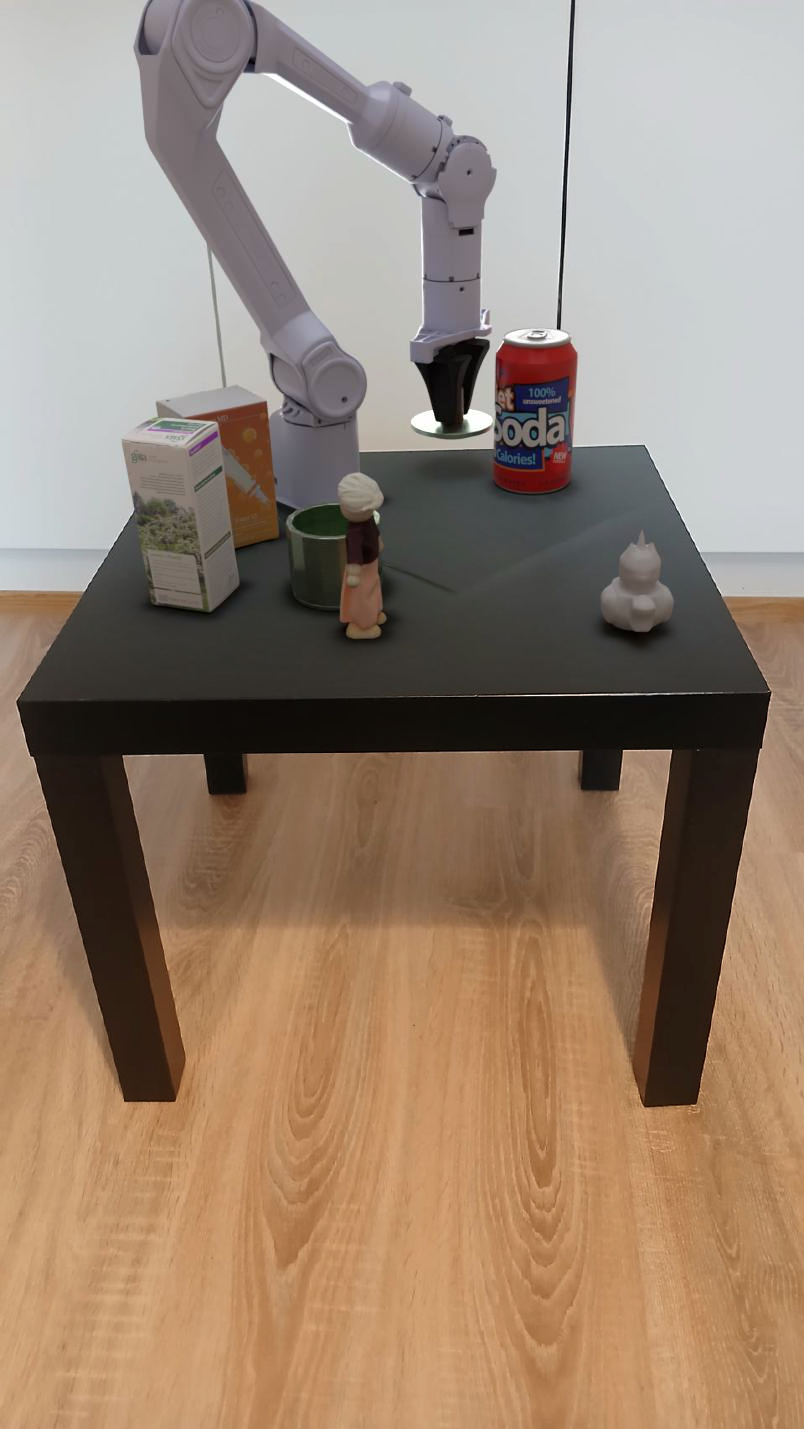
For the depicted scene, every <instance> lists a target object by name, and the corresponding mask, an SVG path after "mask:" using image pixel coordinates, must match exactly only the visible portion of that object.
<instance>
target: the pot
mask: <svg viewBox="0 0 804 1429" xmlns="http://www.w3.org/2000/svg"><path fill="white" fill-rule="evenodd" d="M372 516H373V518H374V519H375V522H376V524H377V527H378V529H379V531H380V537H381V538H382V531H381V530H382V529H381V528H382V527H381V515H380V514H379V512H378V511H377V510H374V512H373V514H372ZM349 521H350V520H348V519H346V518H345V516H344V515H343V514H342V511H341V508H340V502H325V503H319V504H314V505H310V506H307V507H304V508H301V509H295V511H294V512H292V513H291V514H289V515H288V516H287V519H286V522H285V532H286V534H285V535H286V543H287V544H286V545H287V554H288V563H289V574H290V585H291V592H292V596H293V597H294V599H295V600H296V602H298V603H299V604H300V605H302V606H304V607H307V608H309V609H314V610H318V611H326V612H328V611H329V612H340V603H341V592H342V586H343V580H344V572H345V567H346V563H347V550H346V541H345V535H346V531H347V528H348V524H349ZM382 552H383V550H382V551H381V552H379V555H378V575H379V579H380V588H381V594H382V592H383V588H384V587H383V583H384V578H383V574H384V573H383V555H382Z"/></svg>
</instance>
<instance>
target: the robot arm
mask: <svg viewBox="0 0 804 1429" xmlns="http://www.w3.org/2000/svg"><path fill="white" fill-rule="evenodd" d="M132 48H133V52H134V56H135V58H136V63H137V66H138V70H139V81H140V92H141V104H142V106H141V107H142V118H143V130H144V138H145V140H146V143H147V146H148V148H149V151H150V152H151V153H152V155H153V157H154V159H155V160H156V162H157V163H158V165H159V167H160V169H161V170H162V172H163V173H164V175H165V177H166V178H167V180H168V182H169V183H170V185H171V187H172V188H173V190H174V192H175V193H176V195H177V196H178V198H179V200H180V202H181V203H182V205H183V207H184V209H185V210H186V212H187V213H188V215H189V216H190V218H191V219H192V222H193V223H194V225H195V226H196V228H197V229H198V232H199V233H200V235H201V236H202V238H203V240H204V241H205V243H206V244H207V246H208V247H209V249H210V251H211V253H212V254H213V256H214V258H215V260H216V261H217V263H218V265H219V266H220V268H221V269H222V271H223V272H224V274H225V276H226V277H227V279H228V281H229V283H230V284H231V286H232V287H233V289H234V291H235V293H236V294H237V296H238V297H239V299H240V301H241V302H242V304H243V306H244V308H245V309H246V311H247V313H248V314H249V316H250V317H251V319H252V320H253V322H254V324H255V325H256V327H257V328H258V331H259V343H260V345H261V347H262V348H263V350H264V352H265V354H266V357H267V360H268V367H269V368H268V369H269V375H270V379H271V381H272V383H273V385H274V387H275V389H276V390H277V391H278V392H279V393H281V394H282V396H283V399H282V400H283V402H282V405H280V406H279V407H278V408H277V409H275V410H274V411H273V412H272V413H271V414H270V416H269V417H268V418H269V429H270V439H271V450H272V462H273V472H274V483H275V493H276V502H279V503H281V504H284V505H285V506H288V507H291V508H293V509H295V510H298V509H301V508H304V507H307V506H310V505H314V504H319V503H325V502H340V498H339V497H338V484H339V483H340V482H341V480H342V479H343V478H344V477H346V476H347V475H348V474H351V473H358V472H359V473H361V458H360V439H359V421H358V420H359V418H358V410H359V409H360V408H361V406H362V404H363V403H364V400H365V398H366V395H367V390H368V377H367V373H366V370H365V368H364V367H363V364H362V363H361V362H360V361H359V359H358V358H357V357H356V356H354V355H352V354H351V353H349V352H348V351H346V350H345V349H344V348H342V346H341V345H340V344H339V342H338V340H337V338H336V336H335V334H333V332H332V331H331V330H330V329H329V327H327V325H326V324H325V323H324V322H323V321H322V320H321V318H320V317H318V315H317V314H316V313H315V311H314V310H313V309H312V308H311V306H310V304H309V302H308V300H307V299H306V297H305V295H304V293H303V291H302V290H301V288H300V286H299V284H298V283H297V281H296V279H295V277H294V276H293V274H292V272H291V270H290V269H289V267H288V264H287V263H286V261H285V259H284V257H283V256H282V254H281V252H280V250H279V249H278V247H277V245H276V243H275V242H274V240H273V238H272V236H271V234H270V233H269V231H268V229H267V227H266V226H265V223H264V222H263V220H262V219H261V216H260V215H259V213H258V211H257V209H256V208H255V206H254V204H253V202H252V200H251V198H250V197H249V195H248V194H247V192H246V190H245V188H244V186H243V185H242V183H241V181H240V178H238V176H237V173H236V172H235V170H234V168H233V166H232V165H231V163H230V160H229V159H228V158H227V155H226V153H225V152H224V150H223V149H222V147H221V145H220V143H219V142H218V139H217V138H218V137H217V135H218V132H219V126H220V122H221V119H222V116H223V111H224V108H225V104H226V99H227V98H228V96H229V94H231V92H232V89H233V88H234V86H235V85H236V83H237V82H238V80H239V79H240V77H241V76H242V74H252V75H253V74H254V75H264V76H267V77H269V78H271V79H272V80H274V81H275V82H277V83H279V84H281V85H282V86H284V87H285V88H287V89H289V90H291V91H292V92H294V93H296V94H298V95H299V96H300V97H302V98H304V99H305V100H307V101H308V102H311V103H312V104H314V105H315V106H317V107H319V108H321V109H322V110H324V111H325V112H326V113H329V114H330V115H332V116H334V117H336V118H337V119H339V120H341V122H344V123H345V125H346V128H347V132H348V136H349V139H350V143H351V145H352V146H353V147H354V149H356V150H357V151H359V152H361V153H362V154H364V155H365V156H367V157H369V159H371V160H372V161H374V162H376V163H378V164H379V165H381V166H383V167H384V168H386V169H387V170H389V171H390V172H392V173H393V174H394V175H396V176H398V177H399V178H401V179H403V181H406V182H407V183H409V185H410V188H411V189H412V191H413V192H414V194H415V195H416V196H417V197H419V198H420V233H421V235H420V237H421V240H420V241H421V242H420V243H421V303H422V304H421V305H422V307H421V308H422V309H421V310H422V311H421V312H422V314H421V315H422V322H421V324H420V326H419V328H418V330H417V332H416V335H415V337H414V338H412V339H410V340H409V362H410V363H414V365H415V366H416V369H417V370H418V372H419V374H420V375H421V377H422V380H423V382H424V385H425V388H426V390H427V394H428V398H429V402H430V406H431V409H432V410H433V414H434V417H435V420H436V422H443V423H450V424H454V423H455V422H456V421H457V417H458V413H459V405H460V395H461V388H462V385H463V386H464V415H467V414H468V411H469V409H470V408H471V405H472V400H473V395H474V390H475V387H476V382H477V379H478V375H479V372H480V370H481V367H482V364H483V362H484V360H485V358H486V356H487V354H488V353H489V350H490V348H491V340H489V339H487V338H486V337H488V336H490V335H491V334H492V333H493V326H492V325H491V324H490V322H491V321H490V320H491V319H490V318H491V317H490V316H491V310H490V309H487V308H482V287H483V286H482V284H483V283H482V282H483V280H482V277H483V222H484V219H485V208H486V207H485V206H486V202H487V199H488V198H489V196H490V194H491V193H492V192H493V189H494V186H495V185H496V184H495V183H496V179H497V172H498V170H497V168H495V167H494V166H492V158H491V155H490V154H491V153H489V154H488V148H487V146H486V145H485V144H484V143H483V141H482V140H480V139H479V138H477V137H475V136H473V135H467V134H460V133H459V134H458V133H455V132H454V129H453V127H452V125H453V123H454V122H453V119H451V117H448V115H445V114H438V116H437V115H436V114H435V113H433V112H432V111H430V110H429V109H427V108H426V107H425V106H423V105H422V104H420V103H418V102H417V101H416V100H414V99H413V98H411V95H412V92H413V89H412V87H410V86H409V85H408V84H406V83H405V82H403V81H393V83H391V82H389V81H388V80H380V81H377V82H374V83H372V84H370V85H365V84H364V83H363V82H362V81H361V80H359V79H358V78H356V76H354V75H352V74H351V73H350V72H348V71H347V70H346V69H345V68H343V67H342V66H341V65H339V64H338V63H337V62H335V61H334V60H333V59H332V58H330V57H329V56H328V55H326V54H325V53H324V52H323V51H321V50H320V49H319V48H317V47H316V46H315V45H313V44H312V43H311V42H310V41H308V40H307V39H306V38H304V37H303V36H301V35H300V34H299V33H298V32H296V30H294V29H292V28H291V27H290V26H289V25H287V24H286V23H285V22H284V21H282V20H281V19H280V18H278V17H277V16H275V14H273V13H272V12H270V11H269V10H268V9H267V8H265V7H264V6H263V5H262V4H259V3H257V2H256V1H252V0H147V1H146V3H145V5H144V6H143V10H142V12H141V16H140V19H139V24H138V27H137V31H136V36H135V39H134V43H133V47H132ZM478 337H479V338H478ZM480 337H481V338H480ZM432 410H431V411H432Z"/></svg>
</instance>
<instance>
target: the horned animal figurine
mask: <svg viewBox="0 0 804 1429" xmlns="http://www.w3.org/2000/svg"><path fill="white" fill-rule="evenodd" d="M661 566H662V560H661V557H660V556H659V554H658V551H657V549H656V546H655V544H654V542H653V541H651V542H650V543H648V544H646V539H645V535H644V531H643V529H641V531H640V532H639V536H638V540H637V542H636V544H634V542H630V543H629V545H628V546H627V547H626V549H625V551H623V552H622V553H621V555H620V556H619V560H618V572H617V573H618V576H617V577H614V578H613V579H612V580H611V583H610V584H609V585H608V586H606V587H605V588H604V589H603V590H602V592H601V594H600V610H601V614H602V617H603V618H604V620H605V622H607V623H608V624H612V625H613V626H614V627H616V628H618V629H621V630H624V631H633V632H635V633H647V632H648V633H649V631H651V629H653V628H655V627H656V626H657V625H659V624H661V623H667V621H668V620H669V619H670V618H671V616H672V613H673V609H674V606H675V600H674V597H673V595H672V592H671V590H670V589H669V587H668V586H666V585H664V584H663V583H661V582H660V580H659V578H660V575H661V568H662V567H661Z"/></svg>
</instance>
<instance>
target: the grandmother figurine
mask: <svg viewBox="0 0 804 1429" xmlns="http://www.w3.org/2000/svg"><path fill="white" fill-rule="evenodd" d="M338 497H339V498H340V508H341V511H342V514H343V515H344V516H345V518H346V519H348V520H350V521H349V524H348V528H347V531H346V535H345V541H346V550H347V563H346V567H345V572H344V580H343V586H342V592H341V603H340V611H339V622H340V623H343V624H346V623H348V625H347V628H346V632H345V634H346V637H348V639H349V638H350V639H353V640H363V639H365V640H366V639H367V640H368V639H376V638H378V637H380V636H381V635H382V630H381V628H380V626H379V625H382V624H385V623H386V621H387V616H386V614H385V613H384V612H382V610H383V608H384V606H383V595H382V593H381V588H380V579H379V575H378V555H379V552H381V551H382V552H383V550H384V543H383V542H382V536H381V537H380V531H379V529H378V527H377V524H376V522H375V519H374V518H373V516H372V514H373V512H374V510H375V511H377V510H378V509H380V508H381V507H382V505H383V503H384V500H385V499H384V495H383V492H382V491H381V489H380V487H379V485H378V482H377V481H376V480H374V479H373V478H371V477H370V476H369V475H366V474H364V473H363V472H360V473H359V472H358V473H351V474H348V475H347V476H346V477H344V478H343V479H342V480H341V482H340V483H339V484H338Z"/></svg>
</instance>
